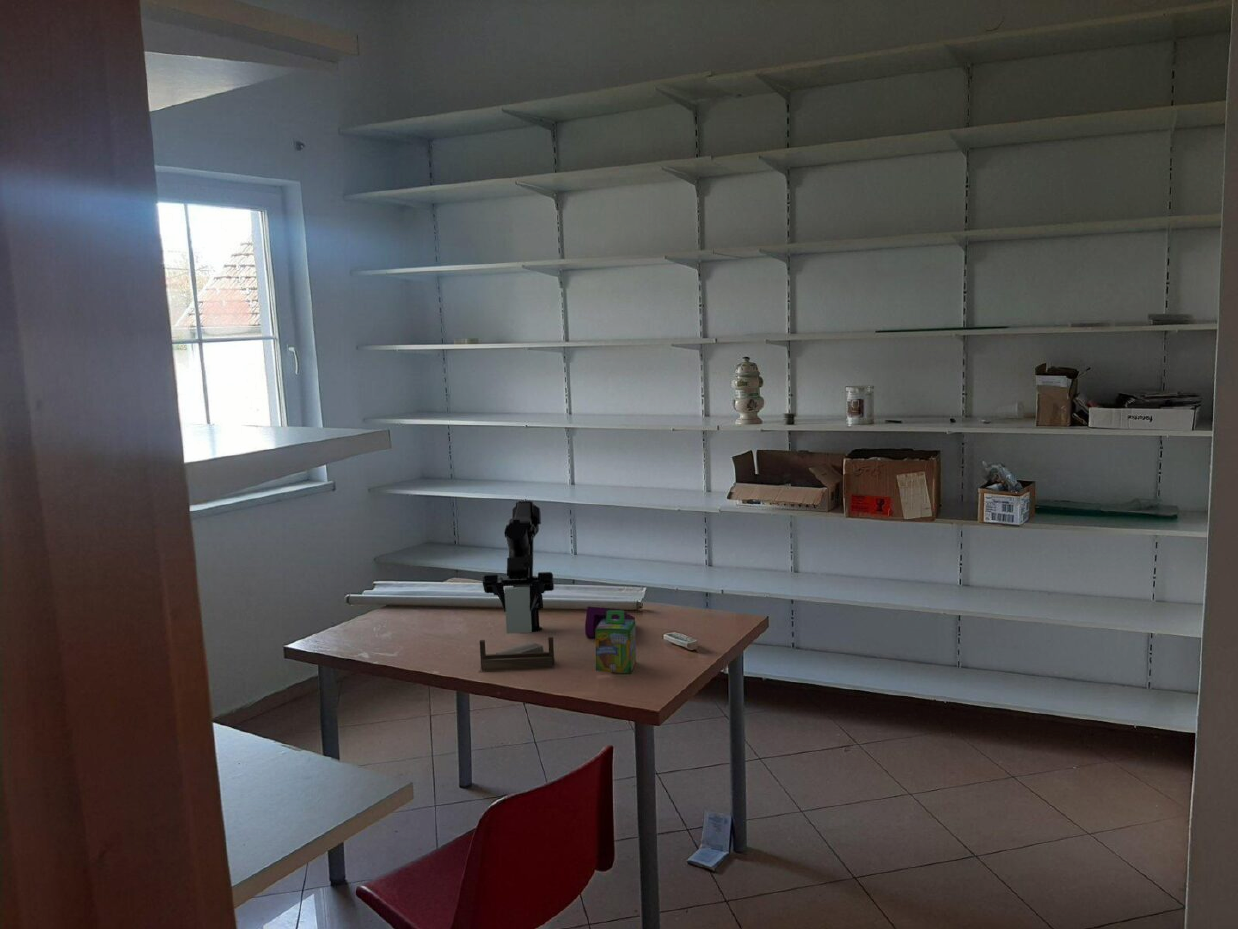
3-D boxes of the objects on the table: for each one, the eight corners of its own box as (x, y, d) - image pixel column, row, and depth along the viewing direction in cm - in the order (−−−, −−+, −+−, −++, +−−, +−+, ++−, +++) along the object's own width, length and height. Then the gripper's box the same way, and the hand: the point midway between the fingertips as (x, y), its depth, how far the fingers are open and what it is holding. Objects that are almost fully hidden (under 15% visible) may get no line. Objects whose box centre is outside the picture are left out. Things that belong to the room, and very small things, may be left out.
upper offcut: (496, 658, 244) (495, 652, 243) (531, 647, 252) (531, 642, 252) (507, 662, 240) (507, 657, 240) (543, 651, 248) (543, 645, 248)
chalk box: (595, 673, 232) (593, 616, 231) (602, 661, 241) (600, 606, 240) (631, 674, 231) (629, 616, 229) (637, 662, 240) (635, 606, 238)
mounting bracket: (606, 646, 273) (583, 636, 257) (609, 617, 275) (587, 606, 259) (636, 648, 269) (614, 639, 253) (639, 619, 272) (618, 608, 256)
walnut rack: (482, 664, 242) (481, 636, 241) (555, 661, 242) (554, 633, 241) (479, 675, 234) (477, 645, 233) (554, 672, 234) (552, 642, 233)
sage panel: (507, 631, 246) (505, 587, 244) (531, 630, 246) (529, 586, 244) (506, 633, 244) (504, 589, 242) (531, 632, 244) (529, 588, 242)
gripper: (481, 545, 246) (478, 596, 236) (551, 542, 246) (551, 593, 236) (486, 567, 254) (483, 617, 245) (553, 564, 255) (553, 614, 245)
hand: (517, 610), depth 243 cm, fingers closed on sage panel, 6 cm apart
